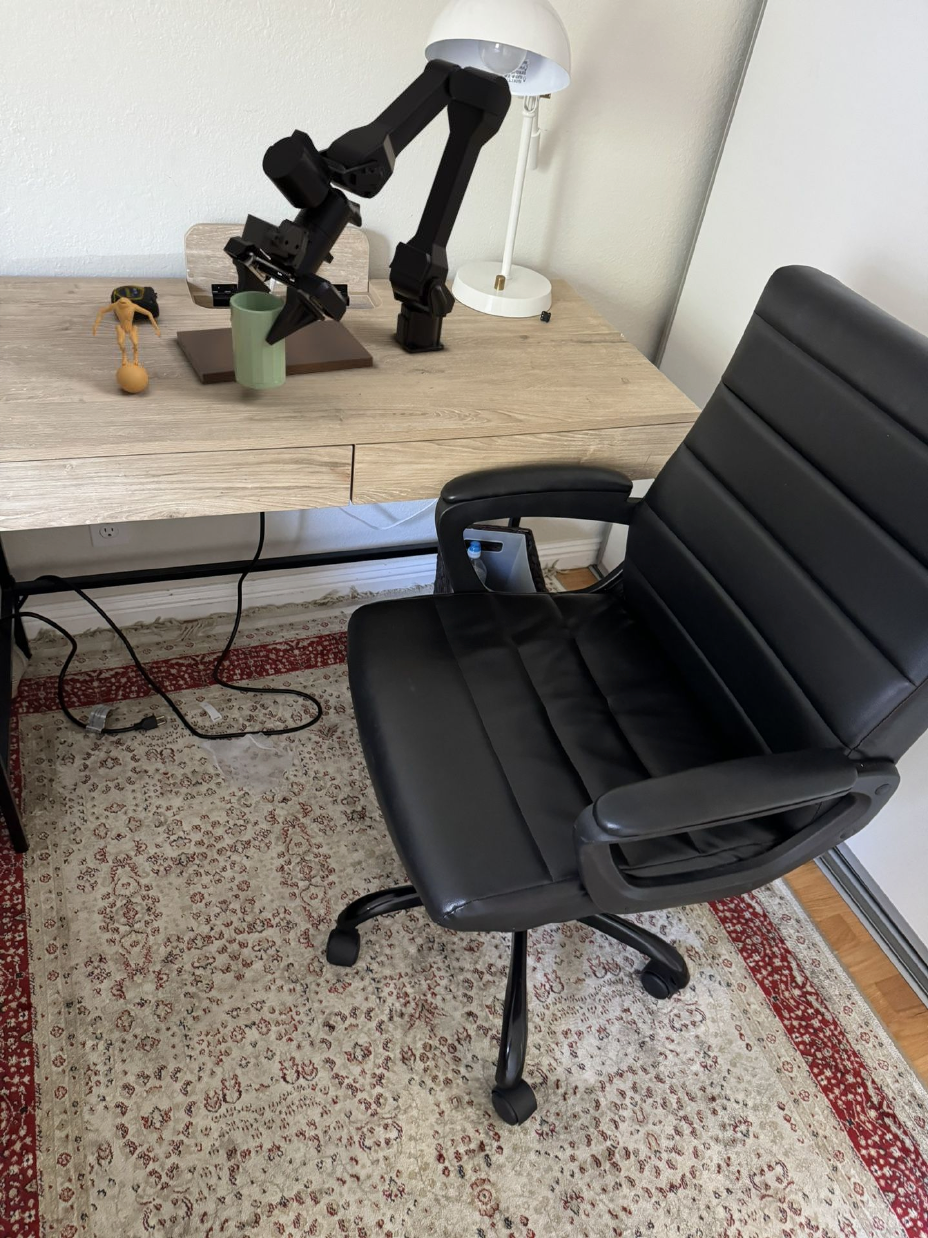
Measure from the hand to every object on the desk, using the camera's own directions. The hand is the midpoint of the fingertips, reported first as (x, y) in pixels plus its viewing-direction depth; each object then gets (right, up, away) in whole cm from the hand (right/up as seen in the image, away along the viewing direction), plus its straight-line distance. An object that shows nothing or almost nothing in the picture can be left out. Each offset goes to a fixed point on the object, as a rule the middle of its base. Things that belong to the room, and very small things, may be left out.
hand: (250, 332), depth 105 cm
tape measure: (-23, +10, +21) cm, 33 cm away
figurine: (-17, -6, +5) cm, 19 cm away
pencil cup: (0, -4, +5) cm, 7 cm away
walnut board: (-1, +3, +18) cm, 18 cm away
